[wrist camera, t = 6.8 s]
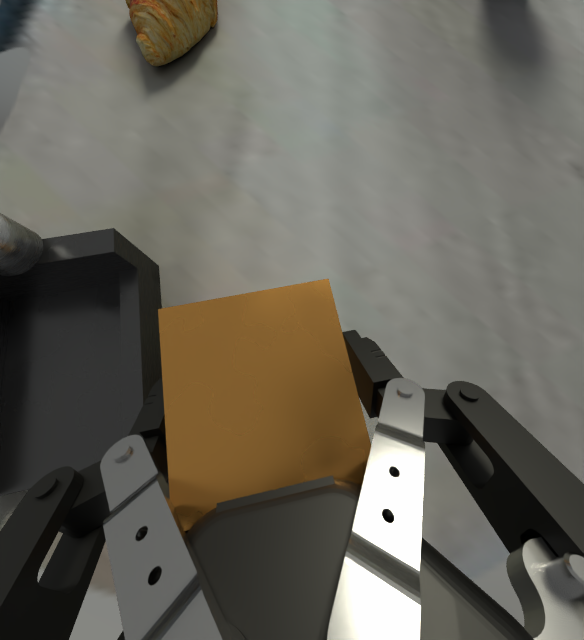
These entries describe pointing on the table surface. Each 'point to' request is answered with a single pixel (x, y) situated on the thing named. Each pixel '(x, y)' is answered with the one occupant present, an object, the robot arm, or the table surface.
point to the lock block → (257, 396)
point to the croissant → (170, 26)
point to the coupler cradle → (72, 348)
